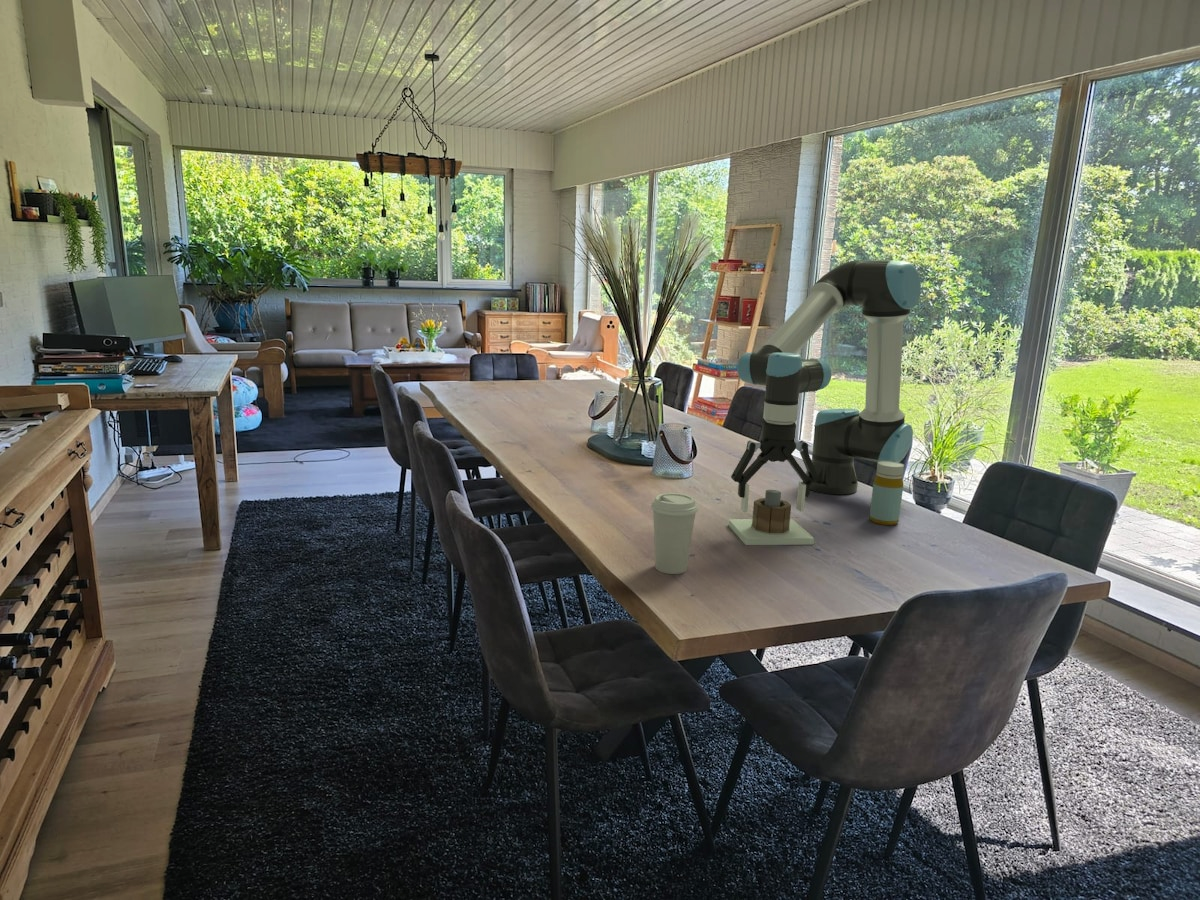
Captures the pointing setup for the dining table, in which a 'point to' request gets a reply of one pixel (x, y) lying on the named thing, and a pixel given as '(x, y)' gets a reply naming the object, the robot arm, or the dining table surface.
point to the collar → (771, 517)
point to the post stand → (755, 537)
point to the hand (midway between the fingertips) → (772, 510)
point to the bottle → (887, 493)
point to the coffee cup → (673, 531)
